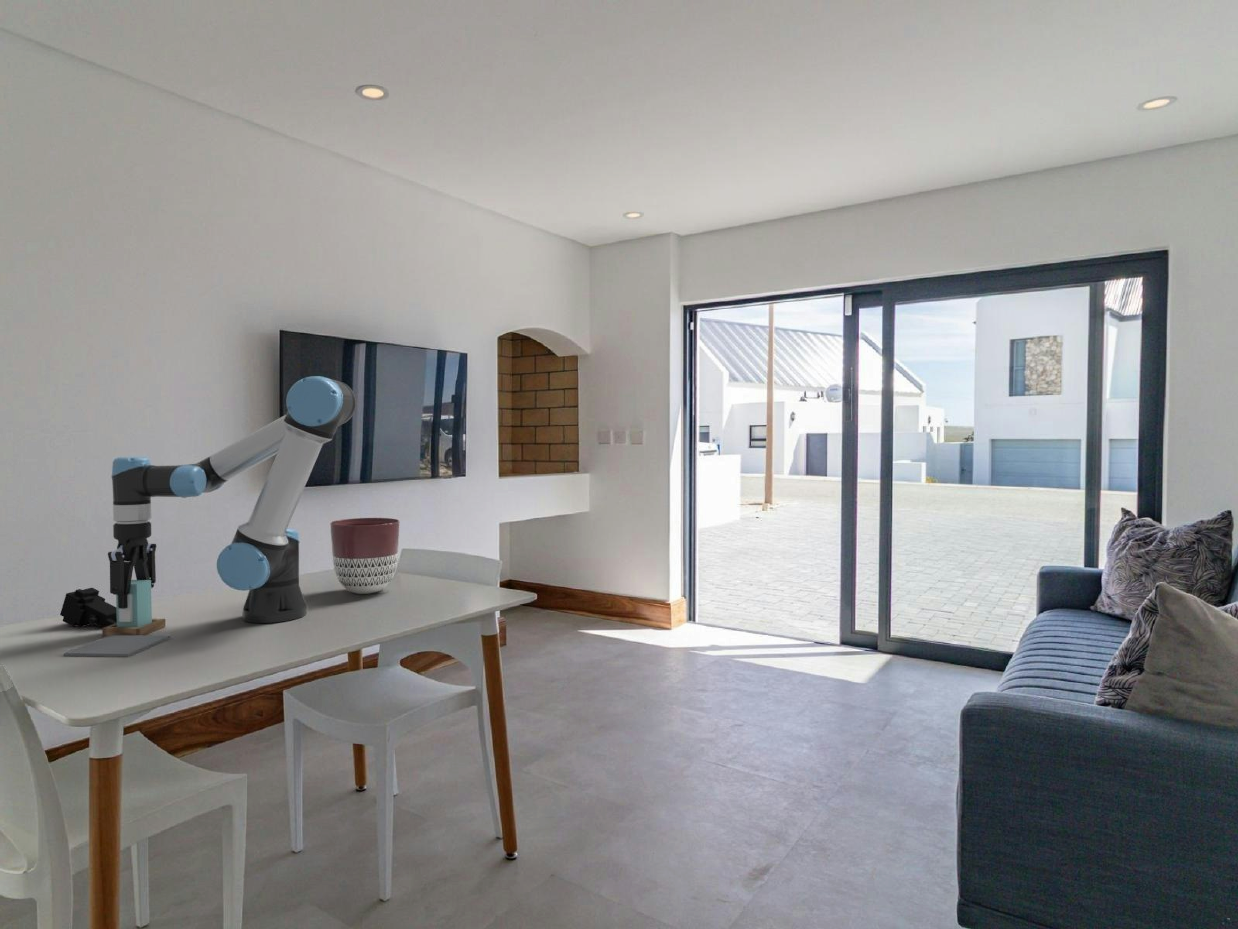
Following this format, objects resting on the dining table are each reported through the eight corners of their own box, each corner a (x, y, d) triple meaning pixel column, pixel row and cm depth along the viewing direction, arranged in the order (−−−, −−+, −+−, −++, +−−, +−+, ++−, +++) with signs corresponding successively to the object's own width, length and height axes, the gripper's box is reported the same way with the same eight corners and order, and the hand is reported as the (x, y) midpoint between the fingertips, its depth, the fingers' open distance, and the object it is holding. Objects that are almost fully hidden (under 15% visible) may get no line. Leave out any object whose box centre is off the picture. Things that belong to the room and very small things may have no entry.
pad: (170, 638, 168) (170, 635, 168) (128, 656, 154) (128, 654, 154) (111, 637, 168) (111, 634, 168) (63, 655, 154) (63, 653, 154)
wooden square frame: (165, 626, 177) (165, 618, 177) (140, 637, 168) (140, 628, 168) (129, 626, 178) (129, 618, 178) (102, 636, 169) (102, 628, 169)
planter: (317, 598, 209) (316, 524, 208) (353, 584, 228) (352, 517, 227) (380, 601, 206) (379, 526, 205) (410, 587, 225) (410, 518, 224)
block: (151, 629, 175) (151, 580, 175) (137, 634, 170) (136, 584, 170) (131, 628, 176) (130, 579, 175) (117, 634, 171) (115, 584, 170)
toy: (112, 614, 172) (63, 590, 175) (103, 645, 173) (54, 620, 176) (144, 605, 181) (97, 582, 184) (135, 634, 182) (88, 611, 185)
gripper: (142, 517, 181) (144, 608, 182) (88, 526, 163) (90, 628, 164) (172, 517, 181) (173, 609, 182) (120, 526, 163) (123, 628, 164)
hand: (134, 618), depth 173 cm, fingers closed on block, 5 cm apart
